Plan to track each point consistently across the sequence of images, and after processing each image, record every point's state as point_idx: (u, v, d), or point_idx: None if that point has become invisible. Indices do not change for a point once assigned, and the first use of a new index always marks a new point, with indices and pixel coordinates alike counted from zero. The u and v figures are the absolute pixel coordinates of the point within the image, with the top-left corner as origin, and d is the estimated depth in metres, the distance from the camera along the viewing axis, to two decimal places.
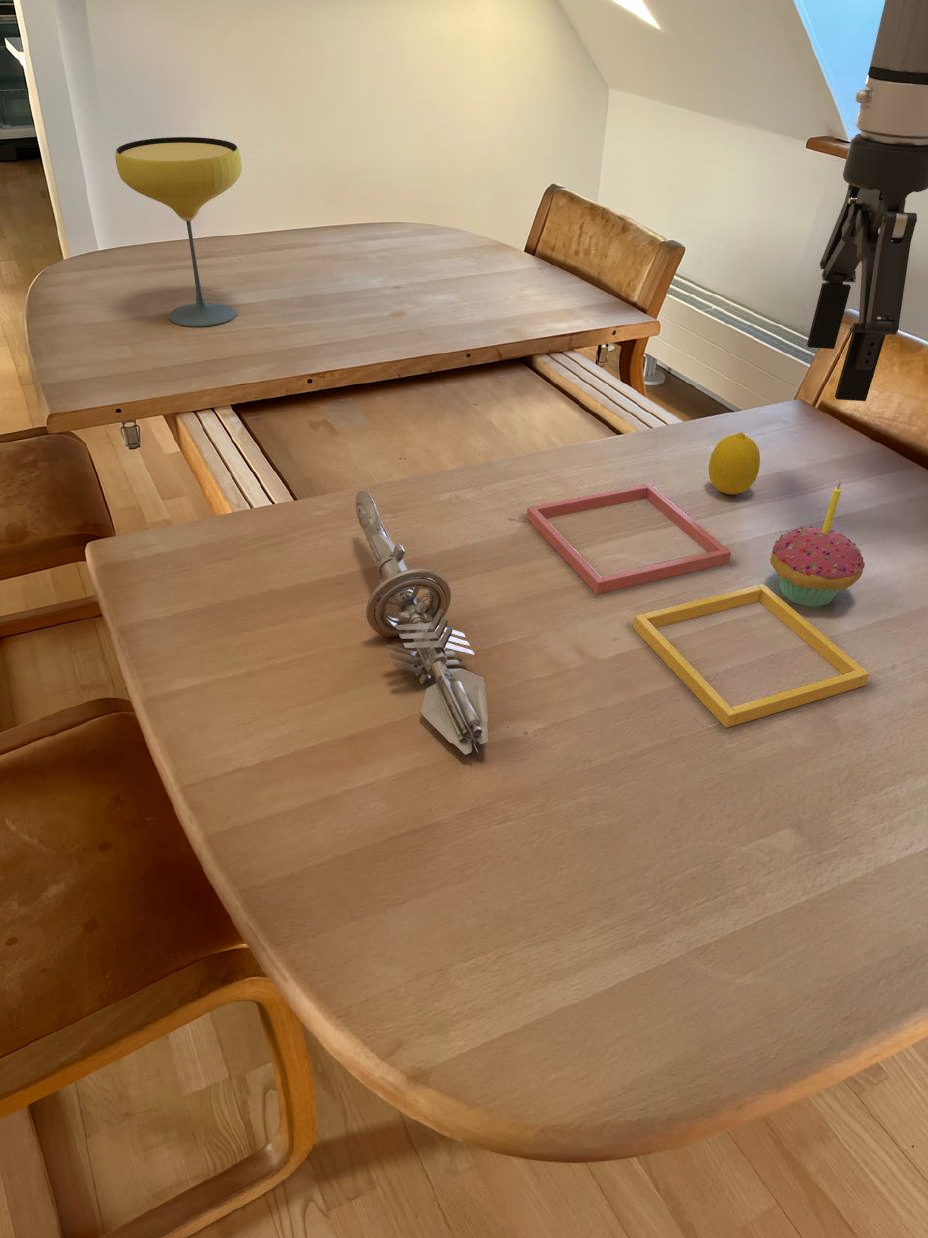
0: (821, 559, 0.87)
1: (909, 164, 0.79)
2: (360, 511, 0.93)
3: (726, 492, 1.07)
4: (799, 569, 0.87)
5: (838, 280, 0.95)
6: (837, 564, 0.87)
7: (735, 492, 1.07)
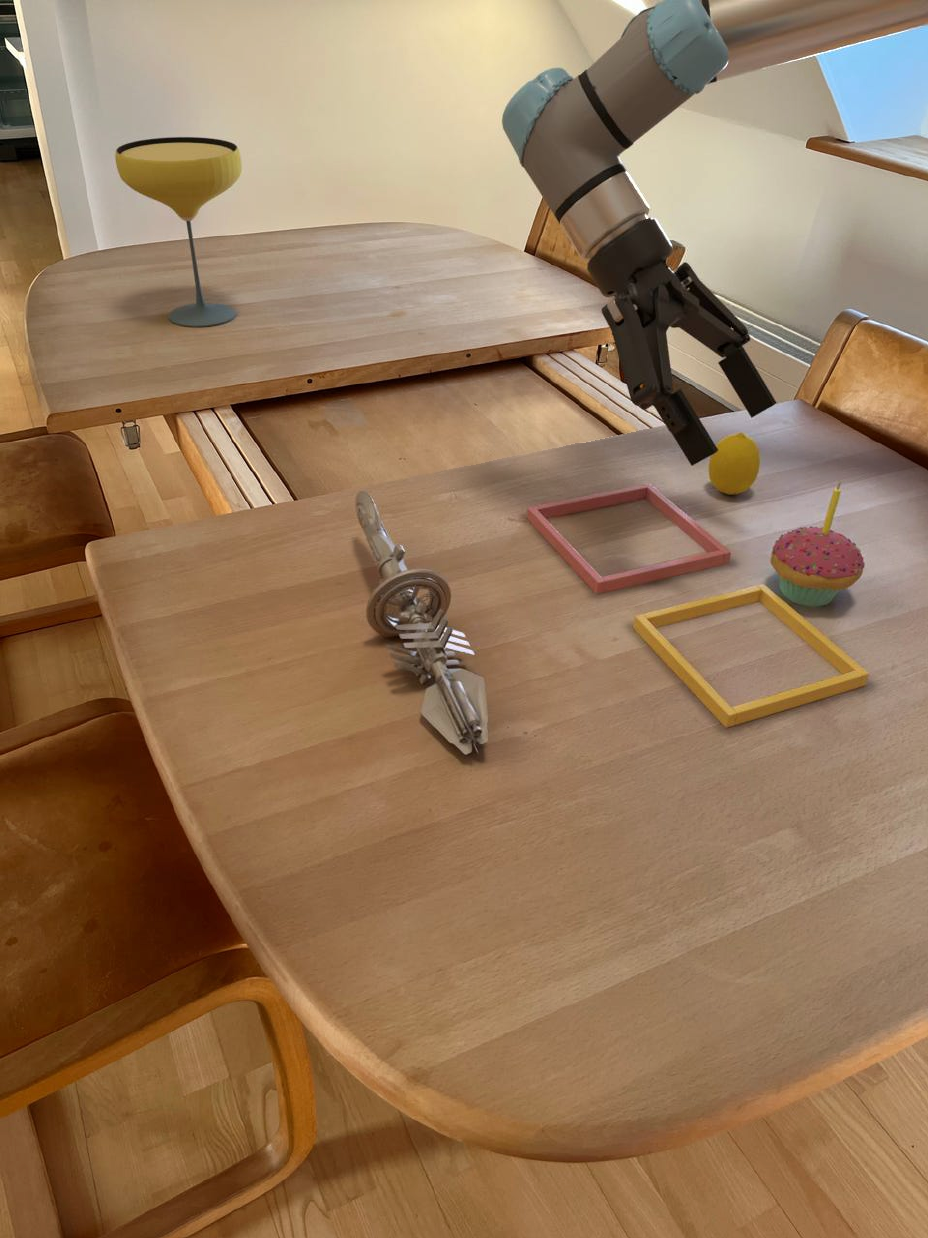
0: (821, 559, 0.87)
1: (609, 259, 0.85)
2: (360, 511, 0.93)
3: (726, 492, 1.07)
4: (799, 569, 0.87)
5: (731, 349, 0.93)
6: (837, 564, 0.87)
7: (735, 492, 1.07)
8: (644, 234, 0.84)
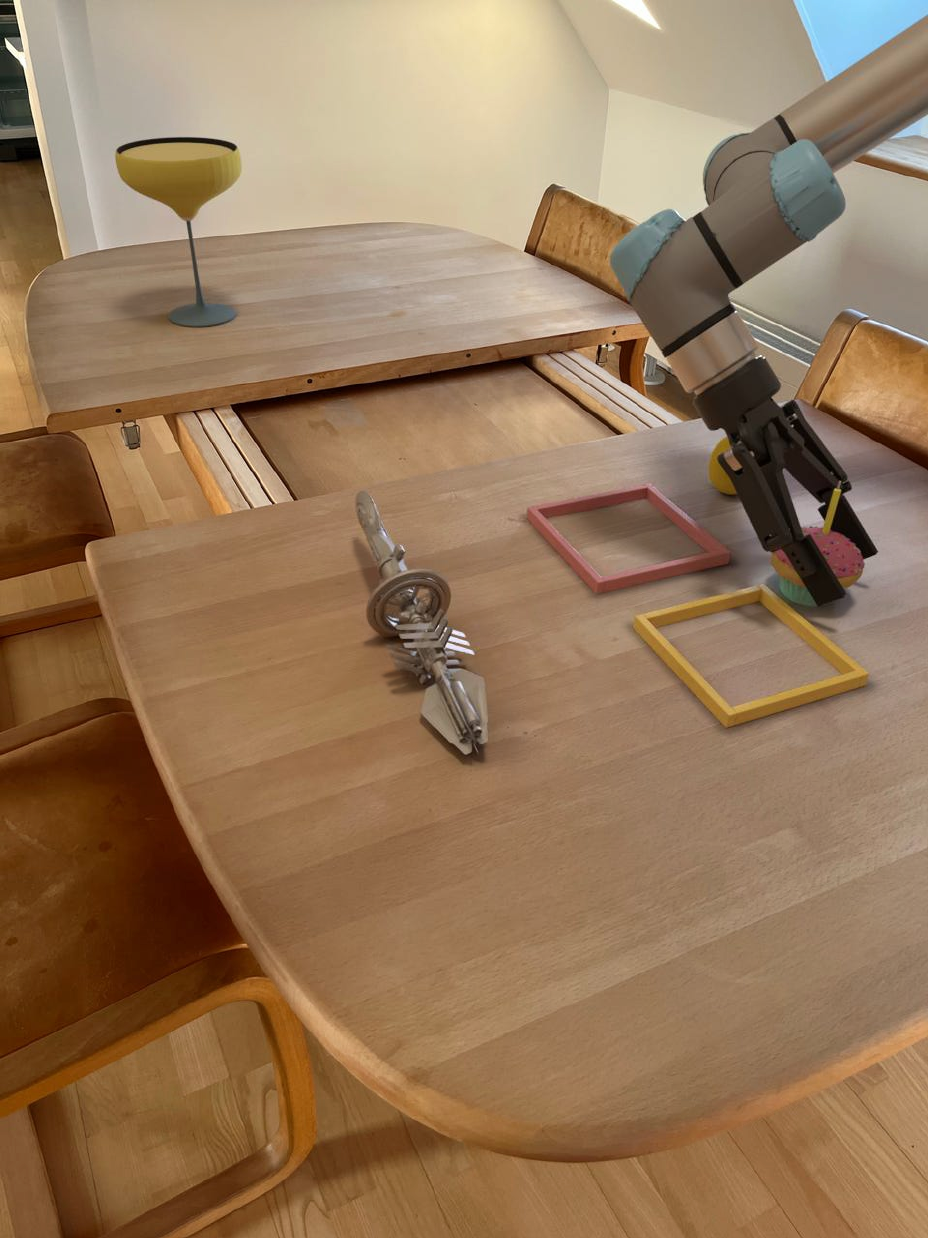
0: None
1: (719, 399, 0.84)
2: (360, 511, 0.93)
3: (726, 492, 1.07)
4: None
5: (830, 496, 0.91)
6: (837, 563, 0.87)
7: (735, 492, 1.07)
8: (756, 375, 0.84)
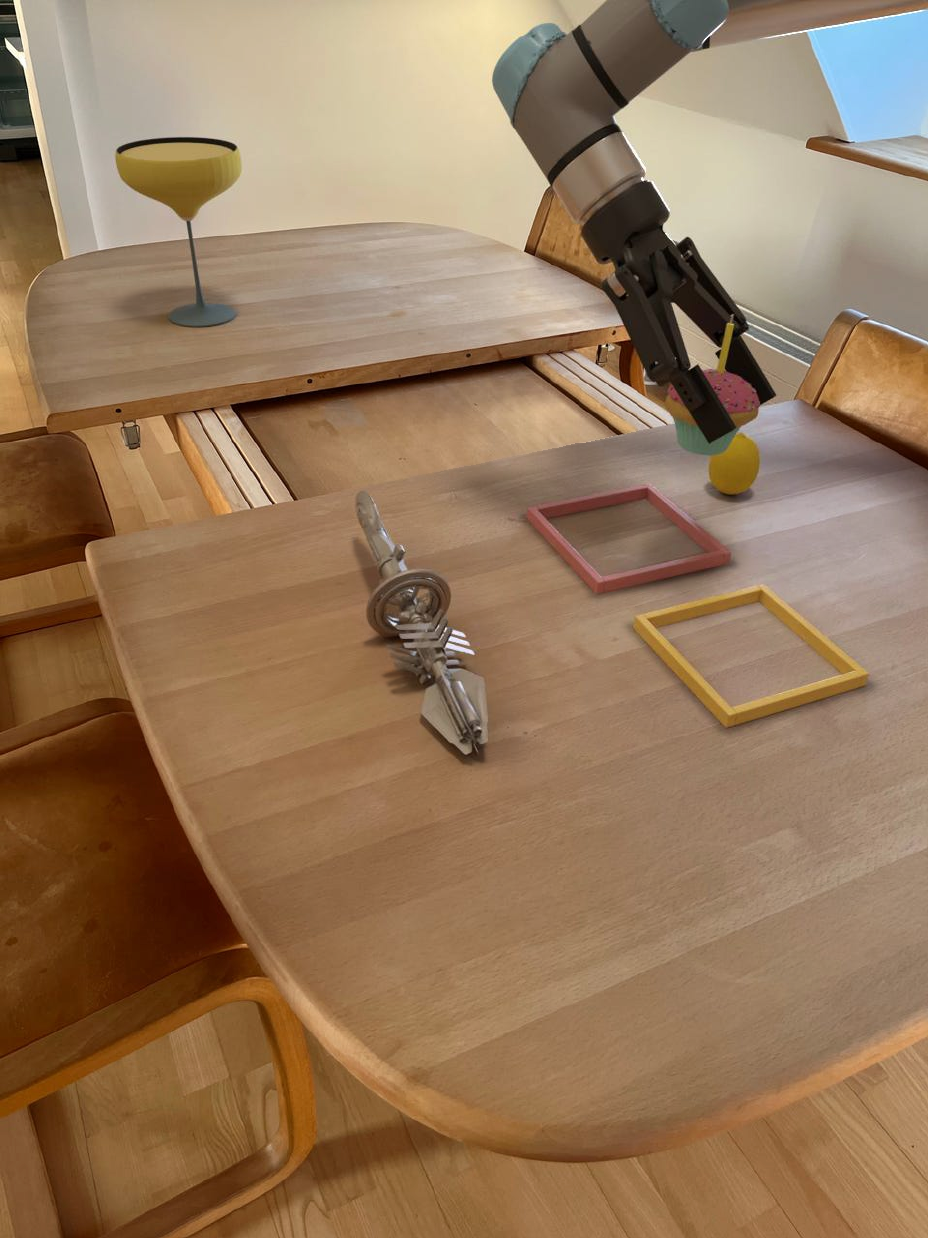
0: None
1: (604, 223, 0.81)
2: (360, 511, 0.93)
3: (726, 492, 1.07)
4: None
5: None
6: (729, 399, 0.83)
7: (735, 492, 1.07)
8: (641, 197, 0.80)
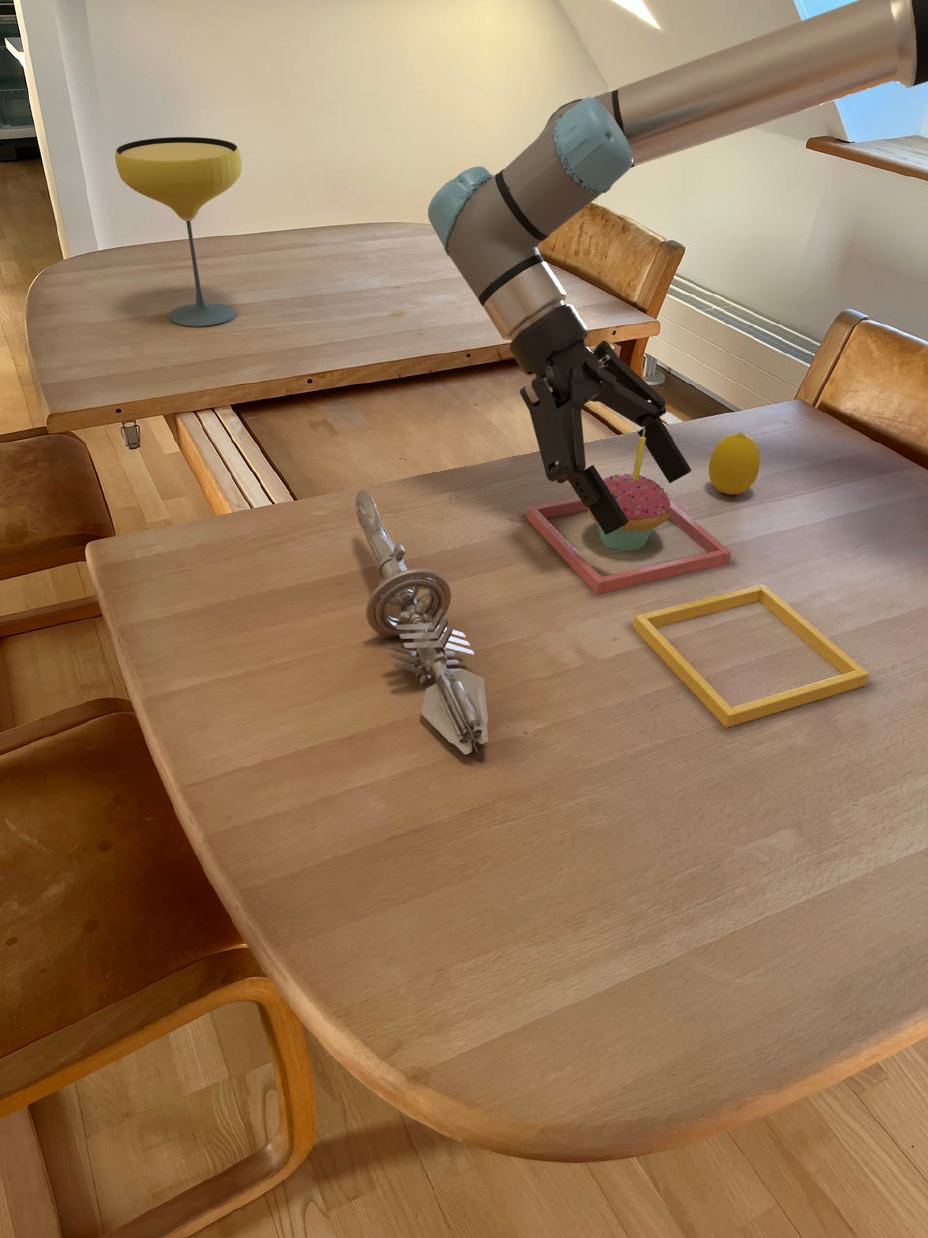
0: (626, 501, 0.94)
1: (527, 344, 0.91)
2: (360, 511, 0.93)
3: (726, 492, 1.07)
4: None
5: (649, 420, 0.99)
6: (641, 505, 0.93)
7: (735, 492, 1.07)
8: (559, 321, 0.90)
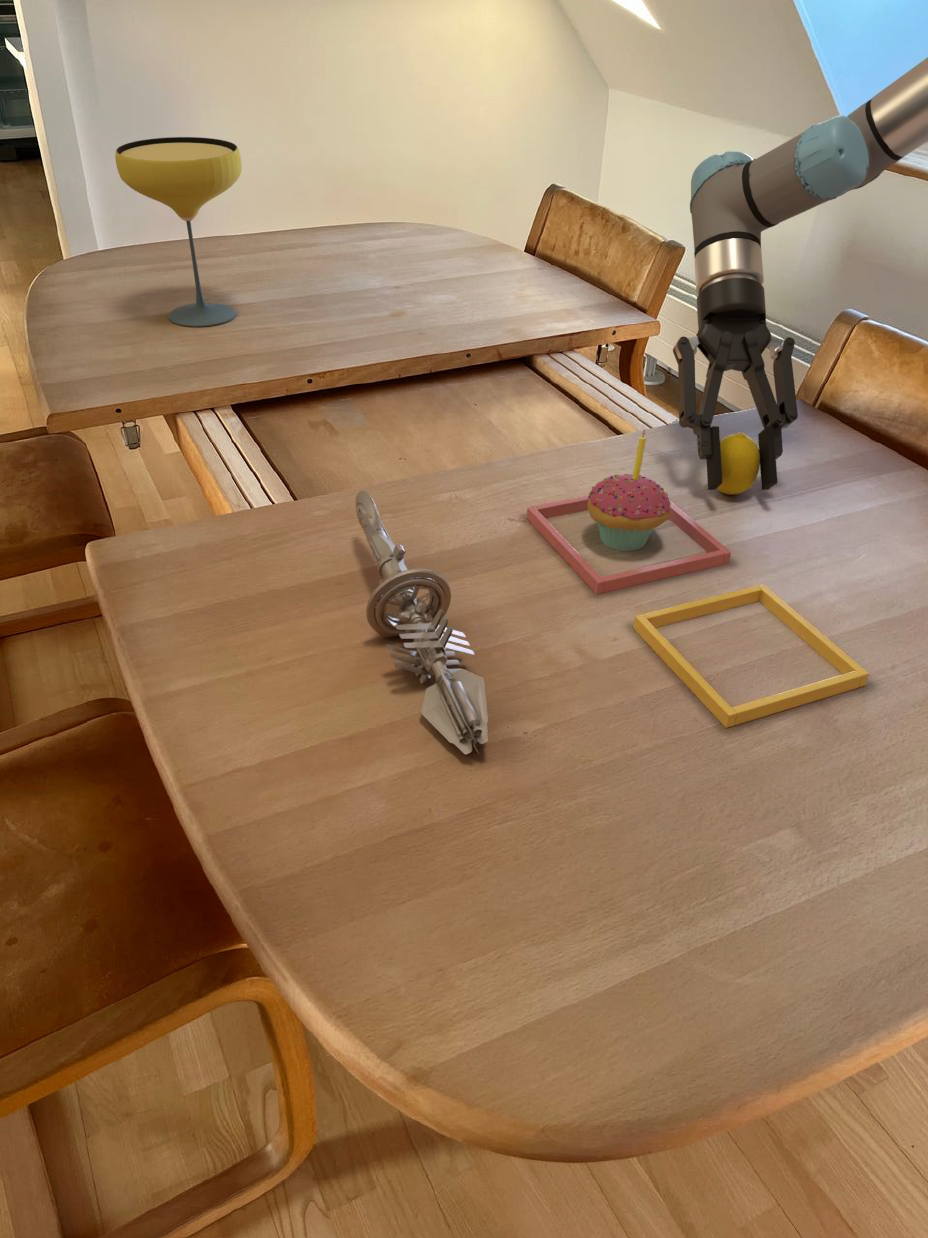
0: (626, 501, 0.94)
1: (699, 301, 1.07)
2: (360, 511, 0.93)
3: (726, 492, 1.07)
4: (607, 511, 0.94)
5: (767, 424, 1.05)
6: (641, 505, 0.93)
7: (735, 492, 1.07)
8: (726, 288, 1.04)
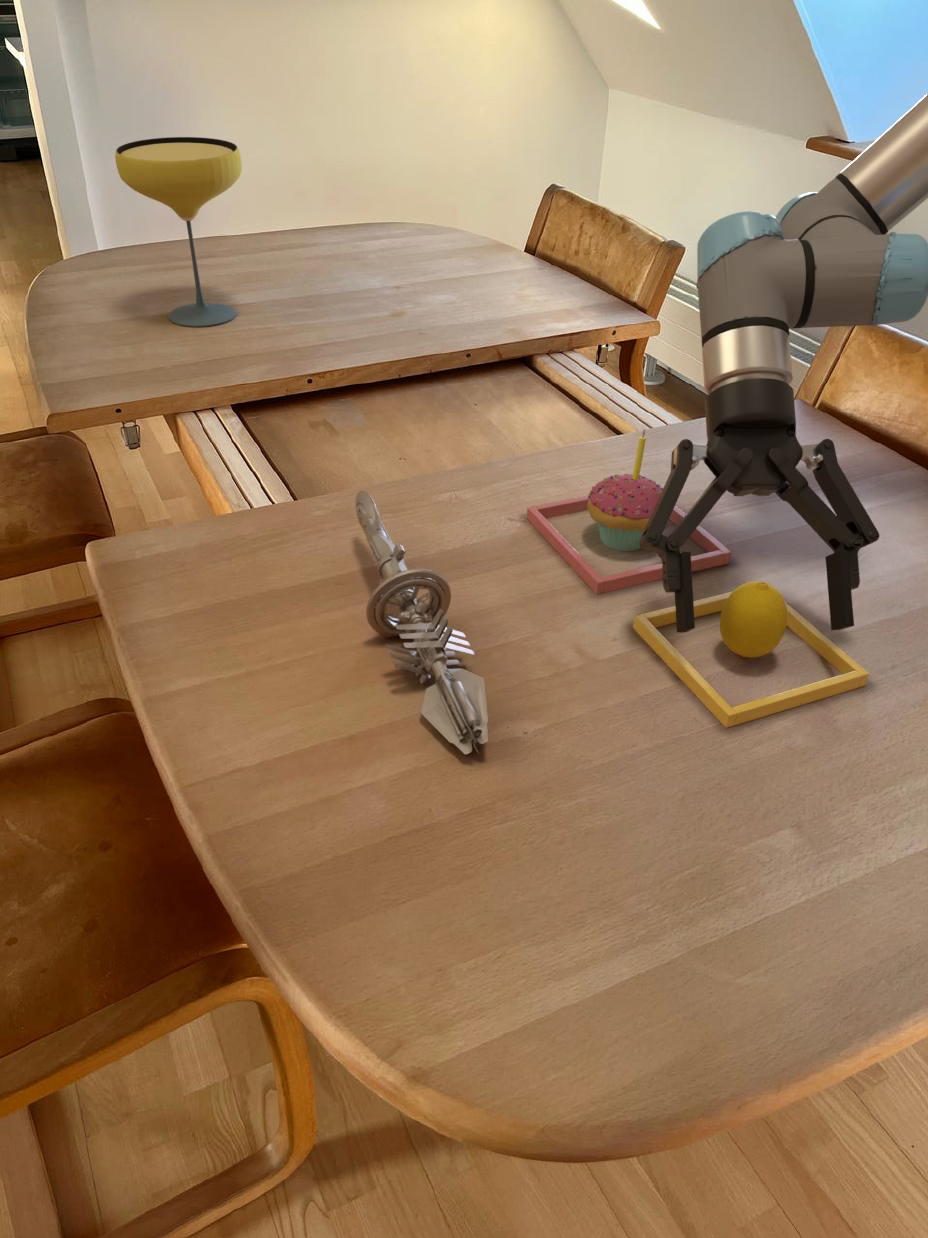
0: (626, 501, 0.94)
1: (709, 406, 0.82)
2: (360, 511, 0.93)
3: (743, 655, 0.82)
4: (607, 511, 0.94)
5: (840, 549, 0.81)
6: (641, 505, 0.93)
7: (755, 656, 0.82)
8: (745, 392, 0.79)
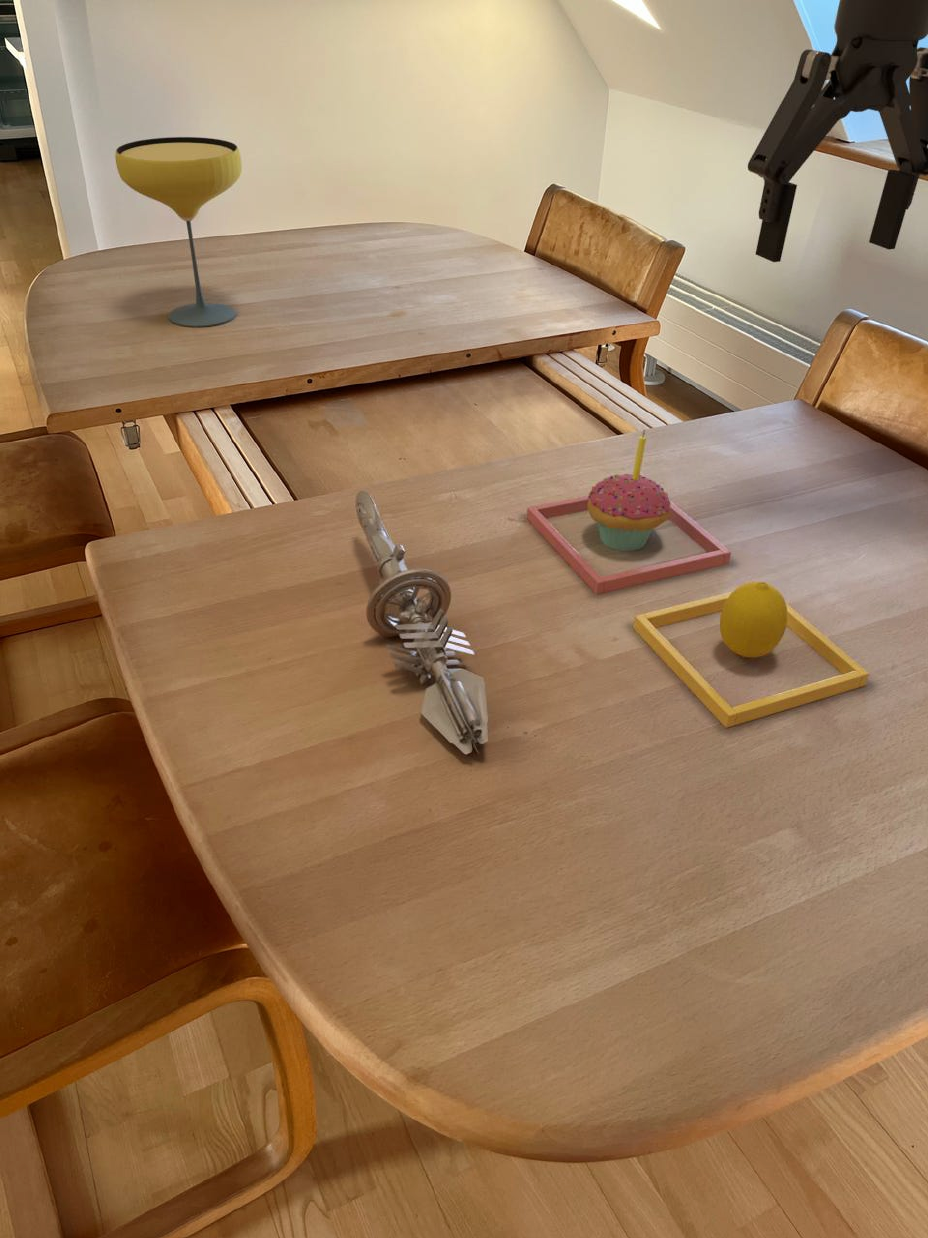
0: (626, 501, 0.94)
1: (854, 3, 0.75)
2: (360, 511, 0.93)
3: (743, 655, 0.82)
4: (607, 511, 0.94)
5: (907, 169, 0.87)
6: (641, 505, 0.93)
7: (755, 656, 0.82)
8: (902, 6, 0.74)
